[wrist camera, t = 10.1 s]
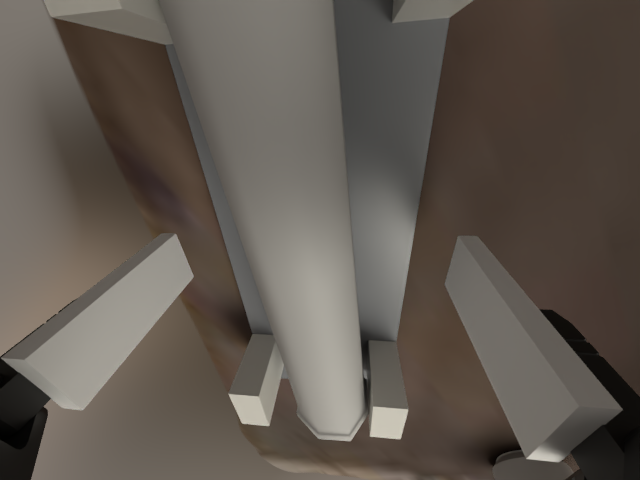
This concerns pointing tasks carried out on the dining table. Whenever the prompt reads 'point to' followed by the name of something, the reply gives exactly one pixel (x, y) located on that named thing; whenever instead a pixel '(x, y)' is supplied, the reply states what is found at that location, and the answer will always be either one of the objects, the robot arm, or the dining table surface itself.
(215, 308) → the dining table surface
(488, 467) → the dining table surface
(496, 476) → the can
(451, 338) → the dining table surface
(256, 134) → the tube
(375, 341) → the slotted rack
